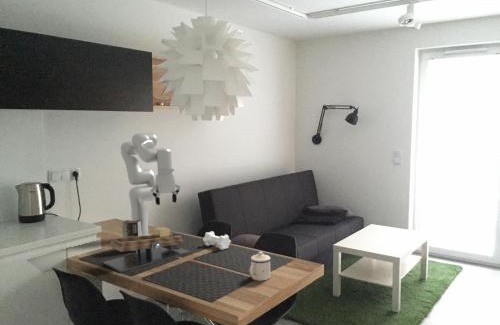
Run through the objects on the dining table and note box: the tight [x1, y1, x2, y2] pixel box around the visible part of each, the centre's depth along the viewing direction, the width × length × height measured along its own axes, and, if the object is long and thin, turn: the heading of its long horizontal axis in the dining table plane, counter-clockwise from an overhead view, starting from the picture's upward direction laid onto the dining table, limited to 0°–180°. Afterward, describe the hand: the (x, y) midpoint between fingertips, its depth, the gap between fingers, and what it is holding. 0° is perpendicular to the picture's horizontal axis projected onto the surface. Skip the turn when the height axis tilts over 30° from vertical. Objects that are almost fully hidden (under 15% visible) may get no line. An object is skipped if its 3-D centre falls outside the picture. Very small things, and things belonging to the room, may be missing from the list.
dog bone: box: [202, 230, 232, 251], centre depth 228 cm, size 15×9×8 cm, turn 48°
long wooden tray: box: [109, 232, 184, 253], centre depth 210 cm, size 36×12×7 cm, turn 134°
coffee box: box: [121, 219, 142, 252], centre depth 226 cm, size 9×6×16 cm
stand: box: [103, 241, 191, 274], centre depth 210 cm, size 19×40×10 cm, turn 134°
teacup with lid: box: [249, 251, 272, 282], centre depth 181 cm, size 12×9×12 cm
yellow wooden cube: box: [153, 226, 171, 239], centre depth 216 cm, size 6×6×6 cm
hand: (166, 203), depth 218 cm, fingers open, 9 cm apart
